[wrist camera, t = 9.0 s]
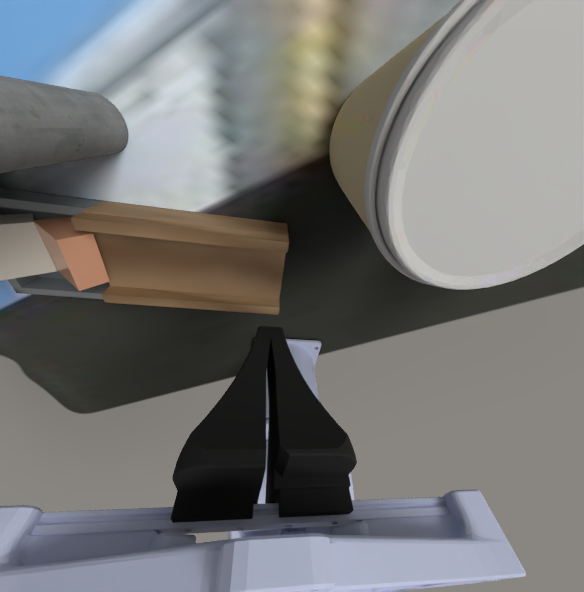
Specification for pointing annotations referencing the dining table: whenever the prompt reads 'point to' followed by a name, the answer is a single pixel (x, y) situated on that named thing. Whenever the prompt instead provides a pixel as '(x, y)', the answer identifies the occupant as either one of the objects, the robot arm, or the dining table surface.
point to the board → (187, 257)
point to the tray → (45, 208)
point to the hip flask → (55, 125)
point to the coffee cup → (472, 145)
